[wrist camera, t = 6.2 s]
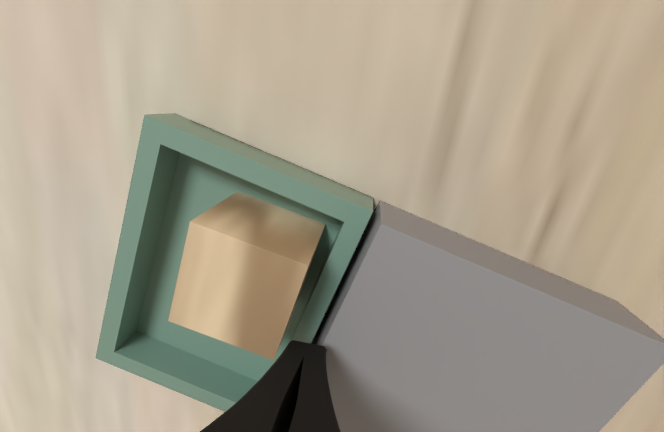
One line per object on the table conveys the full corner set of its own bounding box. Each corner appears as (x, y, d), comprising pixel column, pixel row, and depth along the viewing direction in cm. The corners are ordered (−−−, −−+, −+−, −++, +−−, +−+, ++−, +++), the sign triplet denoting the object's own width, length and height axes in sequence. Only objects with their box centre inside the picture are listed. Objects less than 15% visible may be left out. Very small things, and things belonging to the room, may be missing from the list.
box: (373, 197, 14) (373, 211, 13) (280, 396, 18) (270, 430, 16) (174, 113, 14) (144, 114, 12) (124, 331, 18) (95, 358, 16)
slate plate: (618, 301, 15) (676, 349, 12) (474, 477, 19) (492, 544, 16) (379, 200, 14) (381, 223, 12) (286, 398, 18) (269, 452, 16)
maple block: (308, 265, 11) (189, 221, 11) (274, 360, 12) (167, 320, 12) (325, 223, 15) (237, 191, 15) (297, 299, 16) (216, 269, 16)
